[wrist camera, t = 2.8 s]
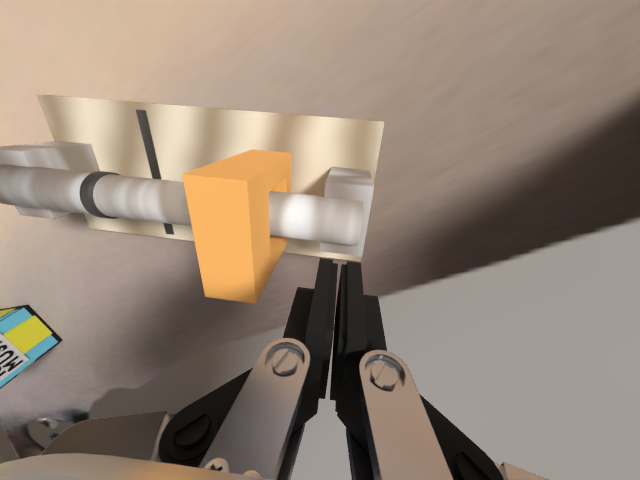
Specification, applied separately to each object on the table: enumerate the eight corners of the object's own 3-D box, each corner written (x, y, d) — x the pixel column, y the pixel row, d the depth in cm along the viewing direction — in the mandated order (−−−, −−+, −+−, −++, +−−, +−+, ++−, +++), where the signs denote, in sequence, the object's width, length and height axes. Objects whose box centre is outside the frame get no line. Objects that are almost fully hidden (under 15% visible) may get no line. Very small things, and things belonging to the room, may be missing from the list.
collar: (291, 152, 18) (247, 180, 11) (290, 237, 22) (255, 303, 14) (251, 149, 19) (182, 174, 11) (256, 233, 22) (205, 296, 14)
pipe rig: (382, 121, 19) (398, 126, 12) (360, 256, 24) (362, 311, 18) (49, 95, 21) (-95, 86, 14) (98, 224, 27) (11, 262, 20)
